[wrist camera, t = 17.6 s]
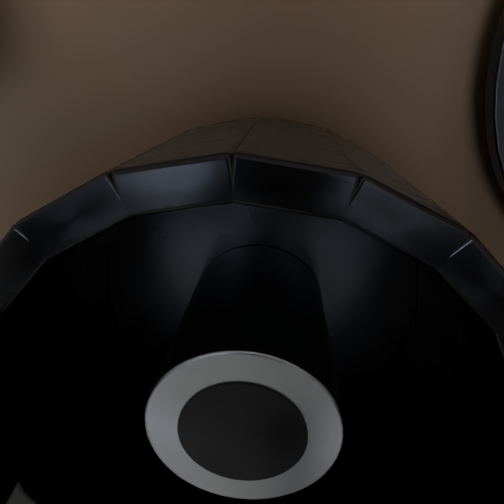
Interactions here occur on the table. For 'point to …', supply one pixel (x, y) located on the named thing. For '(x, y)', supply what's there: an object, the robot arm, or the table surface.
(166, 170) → the tin
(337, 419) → the socket
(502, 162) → the black disc with peg
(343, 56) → the table surface
